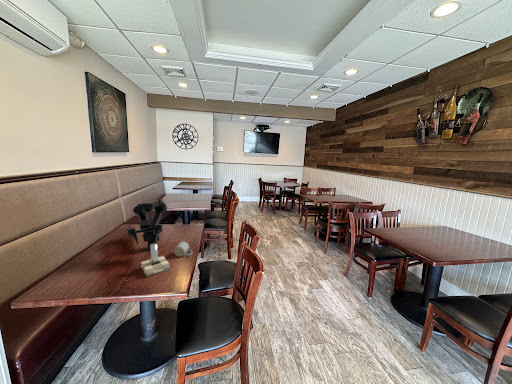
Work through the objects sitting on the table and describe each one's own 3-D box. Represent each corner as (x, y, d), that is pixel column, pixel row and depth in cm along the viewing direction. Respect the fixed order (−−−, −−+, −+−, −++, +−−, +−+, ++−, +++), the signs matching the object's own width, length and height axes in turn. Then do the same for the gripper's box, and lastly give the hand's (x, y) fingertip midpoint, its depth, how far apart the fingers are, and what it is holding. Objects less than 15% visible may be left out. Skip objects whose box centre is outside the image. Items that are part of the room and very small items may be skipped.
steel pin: (150, 268, 119) (148, 245, 117) (155, 265, 122) (154, 242, 120) (154, 269, 118) (153, 246, 115) (160, 266, 121) (158, 243, 118)
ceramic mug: (173, 257, 134) (173, 246, 133) (178, 251, 142) (178, 241, 141) (189, 257, 134) (189, 246, 133) (193, 252, 142) (193, 241, 141)
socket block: (141, 268, 121) (140, 261, 120) (163, 261, 128) (162, 255, 128) (146, 277, 112) (146, 270, 111) (169, 269, 119) (169, 263, 119)
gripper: (126, 216, 122) (127, 240, 115) (161, 212, 131) (164, 234, 124) (128, 225, 131) (129, 248, 123) (160, 220, 140) (163, 242, 132)
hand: (146, 243), depth 125 cm, fingers open, 9 cm apart
